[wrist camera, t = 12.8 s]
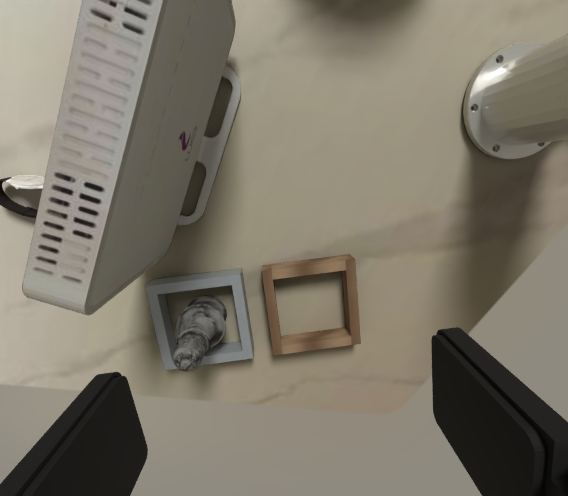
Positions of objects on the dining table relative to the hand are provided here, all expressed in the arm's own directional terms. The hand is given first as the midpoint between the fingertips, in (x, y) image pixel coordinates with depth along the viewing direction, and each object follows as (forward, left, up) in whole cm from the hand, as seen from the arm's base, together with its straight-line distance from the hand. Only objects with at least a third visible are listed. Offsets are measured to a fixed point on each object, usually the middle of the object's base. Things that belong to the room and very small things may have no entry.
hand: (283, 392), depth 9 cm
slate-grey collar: (+10, +10, -31) cm, 34 cm away
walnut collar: (-4, +10, -31) cm, 32 cm away
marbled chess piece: (+10, +10, -31) cm, 34 cm away
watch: (+27, -7, -31) cm, 41 cm away
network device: (+9, -11, -31) cm, 34 cm away
